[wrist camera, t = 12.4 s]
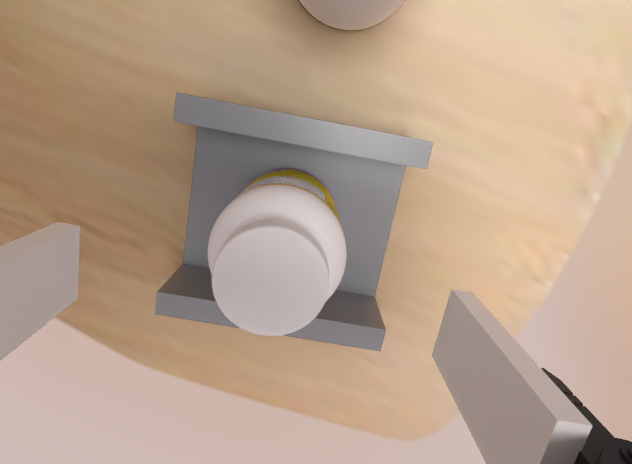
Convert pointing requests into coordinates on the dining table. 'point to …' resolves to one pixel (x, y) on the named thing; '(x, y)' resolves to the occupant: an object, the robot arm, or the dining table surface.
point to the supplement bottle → (277, 253)
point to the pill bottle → (351, 12)
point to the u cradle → (317, 159)
